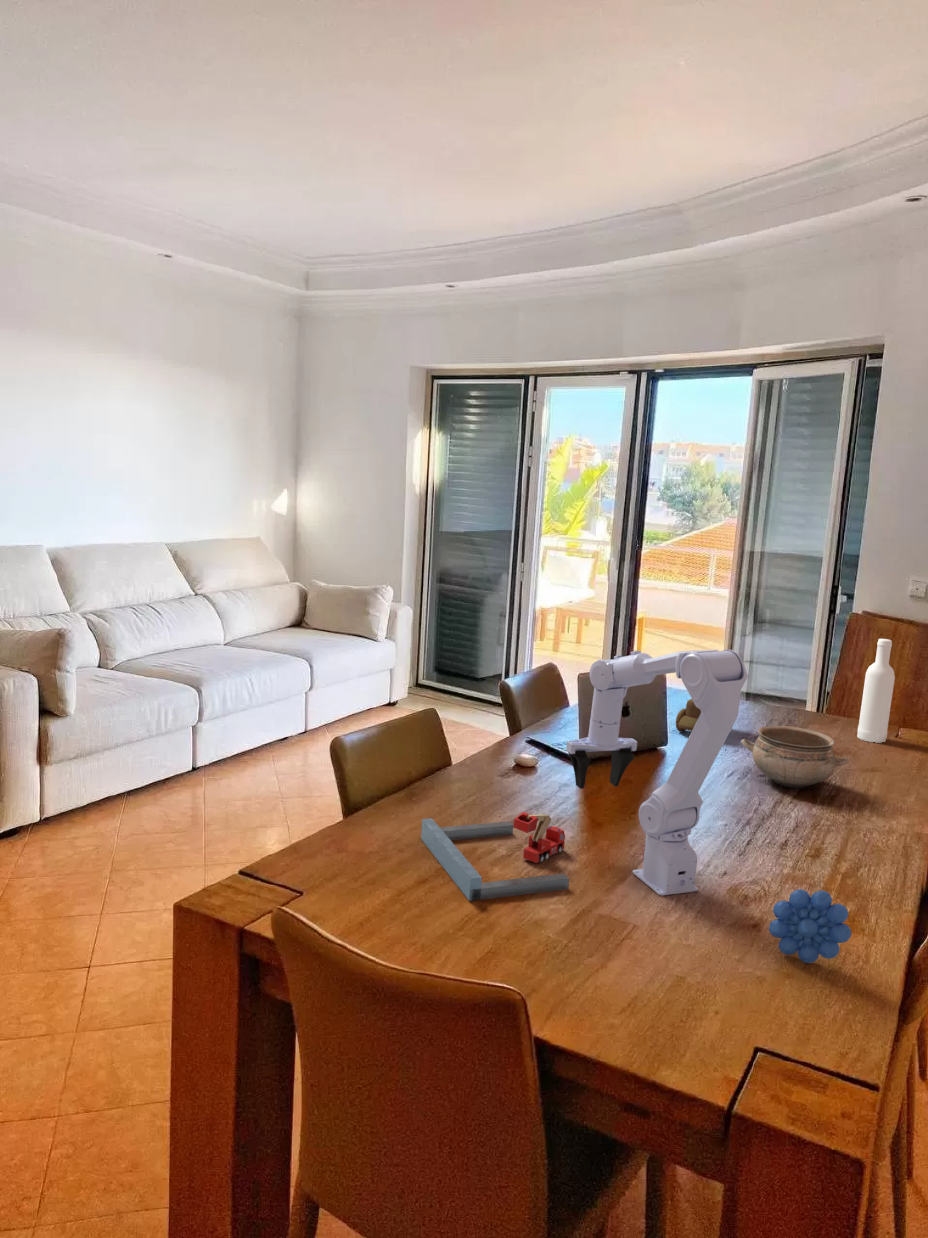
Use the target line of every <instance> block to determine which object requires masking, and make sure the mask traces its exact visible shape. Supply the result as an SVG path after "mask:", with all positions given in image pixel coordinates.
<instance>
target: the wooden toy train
mask: <svg viewBox="0 0 928 1238" xmlns="http://www.w3.org/2000/svg"><path fill="white" fill-rule="evenodd" d="M700 714H701V710H700V709H699V708H697V707H696V705H695V704H694V702H693V700H692V698H690V699H687V701H686V705H685V708H682V709H680V710H679V711H678V713H677V715H676V718H675V727H676V730H677V731H678V732H680V733H684V732H686V731H689V732H692V730H693V728H694V726H695V724H696V722H697V720H698V718H699V716H700Z"/></svg>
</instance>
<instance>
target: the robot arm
mask: <svg viewBox="0 0 928 1238" xmlns="http://www.w3.org/2000/svg"><path fill="white" fill-rule="evenodd" d="M666 674H676V675H675V676H676V678H677V679H681V682H682V683H683V685H684V687H685V688H686V691H687V692H688V694H689V697H690V699H692V700H693V702H694V704H695V705H696V707H697V708H699V709H700V710H701V714H700V716H699V718H698V720H697V722H696V724H695V726H694V728H693V730H692V731H690V732H691V733H690V734H689V737H688V739H687V740H686V742H685V744H684V745H683V749H682V751H681V753H680V754H679V757H678V758H677V761H676V763H675V764H674V767H673V768H672V771H671V773H670V774H669V776H668V779H667V780H666V782H665V783H663V784H662V785H661V786H659V787H658V788H656V789H655V790H654V791H652V793H651V795H650V796H649V797H648V799H647V800H645V801H643V802H642V803H641V804H640V806H639V809H638V821H639V824H640V827H641V829H642V830H643V833H644V834H645V841H644V842H645V844H644V854H643V855H644V856H643V861H642V862H643V865H642V868H639V869H633V870H632V874H633V875H634V876H636V877H637V878H638V879H640V881H642V882H643V883H644V884H646V885H647V886H648V887H649V888H650V889H652V890H653V891H654V892H655V893H656V894H658V895H659V896H669V895H678V894H683V893H685V894H686V893H691V892H693V893H694V892H698V890H699V888H698V887H697V886H696V885H695V884H696V874H697V865H698V856H697V853H696V851H695V849H693V848H692V846H691V844H690V842H689V836H690V835H691V834H692V829H693V828H696V826H698V823H699V820H700V811H701V807H702V805H703V803H704V801H703V799H702V797H701V795H700V794H699V791H700V789H701V787H702V786H703V784H704V782H705V780H706V777H707V776H708V775H709V772H710V770H711V769H712V767H713V765H714V763H715V761H716V759H717V757H718V756H719V754H720V751H721V749H722V748H723V745H724V743H725V742H726V740H727V738H728V736H729V734H730V732H731V731H732V729H733V727H734V724H735V723H736V721H737V719H738V716H739V712H740V711H739V710H740V701H741V692H742V688H743V687H744V685H745V683H746V681H747V679H748V677H749V676H748V673H747V669H746V666H745V663H744V661H743V658H742V657H741V655H740V654H739V652H737V651H735V650H732V649H724V650H717V649H709V650H708V649H707V650H706V649H704V650H703V649H699V650H698V649H697V650H696V649H695V650H685V651H684V650H683V651H676V652H672V653H667V654H664V655H660V656H656V657H652V656H651V655H649V654H648V653H645V652H642V651H641V650H633V651H630V654H629V655H626V656H623V655H621V654H619V655H615V656H613V659H598V660H596V661H594V662H593V663H592V664H591V665H590V669H589V680H590V683H591V685H592V686H593V688H594V689H593V694H592V695H593V696H592V701H591V703H592V705H591V712H590V718H589V719H590V720H589V729H588V735H587V737H584V738H578V739H574V740H573V739H572V740H567V741H566V747H565V750H566V752H567V753H568V755H569V758H570V761H571V763H572V764H571V765H572V768H573V772H574V780H575V786H576V787H578V788H579V789H581V790H582V789H584V788H585V785H586V779H587V778H586V777H587V772H588V768H589V765H590V764H591V763H590V762H591V758H590V757H589V756H588V754H587V753H588V752H590V753H591V752H608V751H609V752H610V753H611V754H610V755H611V756H610V759H611V763H610V764H611V765H610V767H611V768H610V772H609V773H610V775H609V783H610V784H611V785H612V786H614V787H619V784H620V781H621V779H622V777H623V775H624V773H625V771H626V769H627V768H628V766H629V765H630V764H631V763H632V761H633V760H634V758H635V754H634V753H633V752H635V751H637V749H638V748H637V747H638V741H637V740H636V739H634V738H631V737H630V738H629V737H625V738H624V737H619V734H620V727H621V718H622V711H623V705H624V704H623V703H624V699H625V697H626V696H627V691H628V689H629V688H630V687H637V686H642V685H649V684H651V683H653V681H654V680H655V678H656V677H657V676H658V675H666Z"/></svg>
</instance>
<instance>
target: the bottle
mask: <svg viewBox="0 0 928 1238" xmlns="http://www.w3.org/2000/svg"><path fill="white" fill-rule="evenodd" d="M892 642H893V641H892V640H891V639H887V638H878V641H877V643H876V644H877V648H876V656H875V661H874V662H873V663H872V664H871V665H869V666H868V668H867V669H866V672H865V677H864V685H863V692H862V697H861V706H860V713H859V721H858V725H857V734H856V735H857V739H859V740H861V741H865V742H867V741H868V743H873V742H875V743H874V744H883V743H882V742H884V743H885V742H886V741H887V736H888V727H889V722H890V721H889V719H890V712H891V705H892V700H893V693H894V686H895V680H896V676H895V671H894V668H893V667H892V666H891V665H890V657H891V650H892V647H893V643H892Z"/></svg>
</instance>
